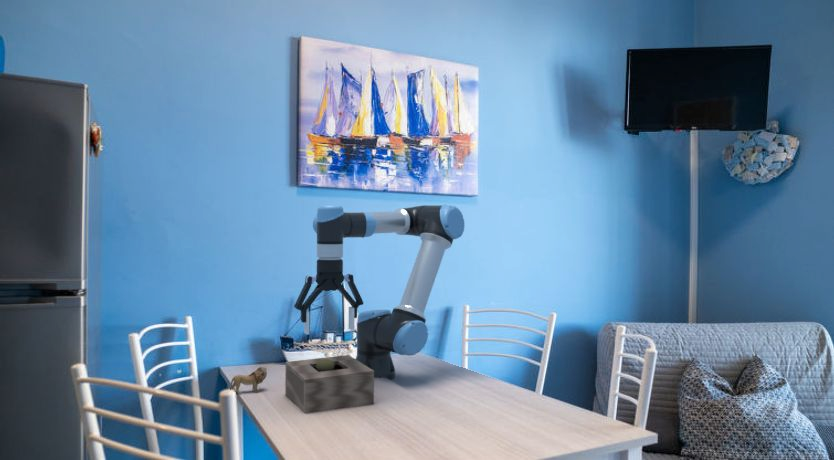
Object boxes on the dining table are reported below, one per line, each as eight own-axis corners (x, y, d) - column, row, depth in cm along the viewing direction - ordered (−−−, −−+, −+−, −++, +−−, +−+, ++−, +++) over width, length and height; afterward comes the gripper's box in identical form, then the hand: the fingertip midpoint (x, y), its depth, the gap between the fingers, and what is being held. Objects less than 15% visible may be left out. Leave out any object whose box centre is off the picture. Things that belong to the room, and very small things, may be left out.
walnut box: (348, 386, 173) (348, 354, 173) (373, 405, 155) (374, 370, 155) (285, 395, 164) (285, 362, 163) (304, 417, 146) (305, 379, 146)
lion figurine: (265, 387, 171) (265, 364, 171) (268, 391, 167) (268, 367, 167) (225, 392, 165) (225, 368, 165) (227, 396, 162) (227, 372, 161)
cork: (330, 401, 155) (330, 363, 155) (310, 399, 157) (311, 361, 156) (338, 395, 161) (339, 358, 161) (319, 393, 163) (320, 356, 162)
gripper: (364, 256, 168) (364, 325, 168) (283, 258, 156) (283, 332, 157) (374, 258, 161) (374, 329, 162) (290, 260, 150) (290, 338, 150)
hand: (329, 331), depth 159 cm, fingers open, 13 cm apart
